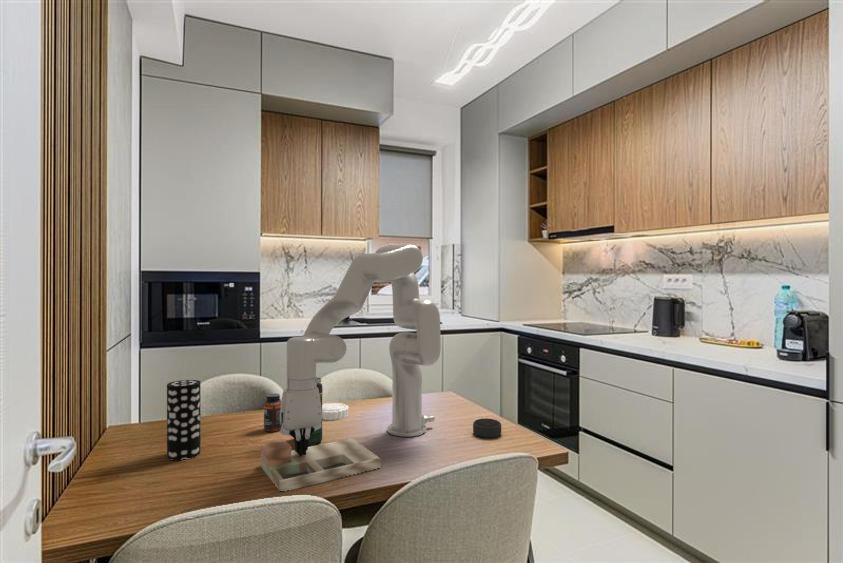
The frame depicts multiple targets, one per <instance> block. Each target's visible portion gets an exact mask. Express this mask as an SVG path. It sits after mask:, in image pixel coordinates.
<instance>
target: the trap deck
mask: <svg viewBox="0 0 843 563" xmlns="http://www.w3.org/2000/svg"><path fill="white" fill-rule="evenodd" d="M259 461H260V467H261V469H262V470H263V471H264V473H265V474H266V475H267V477H268V478H269V479H270V481H271V482H272V483H273V485H274V484H275V485H274V486H275V487H277V488H278V489H279V490H280V491H285V492H288V491H287V490H289V491H292V490H296V489H301V488H304V487H308V486H313V485H317V484H318V485H319V484H320V483H321V484H322V483H325V482H330V481H333V480H338V479H342V478H341V477H343V478H346V477H345V476H347V477H350V476H349V475H351V476H354V475H353V474H355V475H358V474H357V473H359V474H362V473H361V472H363V473H366V472H365V471H367V472H370V470H371V471H374V470H373V469H376V470H378V469H377V468H380V469H382V458H381V457H380V456H378V455H376V454H375V453H374V452H372V451H370V449H368V448H367V447H365V446H364V445H362V444H361V443H359V442H358V441H356V440H355V439H354V438H348V439H343V440H337V441H333V442H329V443H322V444H318V445H316V444H315V445H310V446H308V450H306V455H302V456H300V455H299V454H298V453H297V452H295V449H291V462H290V463H285V464H281V465H276V466H271V467H267V466H266V465H265V464H264V462H263V461H262V460H261V455H260V460H259ZM337 478H338V479H337ZM277 488H276V489H277ZM278 489H277V490H278ZM279 490H278V491H279Z"/></svg>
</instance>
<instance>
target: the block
mask: <svg viewBox="0 0 843 563" xmlns="http://www.w3.org/2000/svg"><path fill="white" fill-rule="evenodd" d="M291 450H292V445H291V444H289V442H288V441H286V440H285V439H281V440H279V439H278V440H275V441H270V442H263V443H261V444H260V456H261V460H262V461H263V462H264V464H265V465H266V466H267V467H271V466H276V465H281V464H285V463H290V462H291Z"/></svg>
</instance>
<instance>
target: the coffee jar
mask: <svg viewBox="0 0 843 563" xmlns="http://www.w3.org/2000/svg"><path fill="white" fill-rule="evenodd" d="M316 387H317V388H318V390H319V394H320V400H321V411H322V404H323V394H324V393H323V384H322V382H321V383H317V386H316ZM321 425H322V427H321V428H320V429H318V430H315V431H314V432H313V433H312V434H311V435H310V438H309V439H308V446H314V445H316V444H318V443H321V442H322V441H323V420H321ZM302 430H303V429H300V436H302Z"/></svg>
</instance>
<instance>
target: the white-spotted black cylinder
mask: <svg viewBox="0 0 843 563" xmlns="http://www.w3.org/2000/svg"><path fill="white" fill-rule="evenodd" d="M201 383H202V382H201V380H197V379H183V380H176V381H170V382H168V383H166V459H167V458H168V459H167V460H169V459H173V460H181V459H187V458H191V459H193V458H192V457H194V458H196V457H195V456H197V455H198V456H200V455H201V453H200V452H201V449H202V448H201V443H202V442H201V438H202V437H201V432H202V431H201V430H202V429H201V425H202V424H201V421H202V419H201V411H202V410H201V406H202V405H201V399H202V398H201V392H202V391H201ZM199 454H200V455H199ZM198 456H197V457H198Z"/></svg>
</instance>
